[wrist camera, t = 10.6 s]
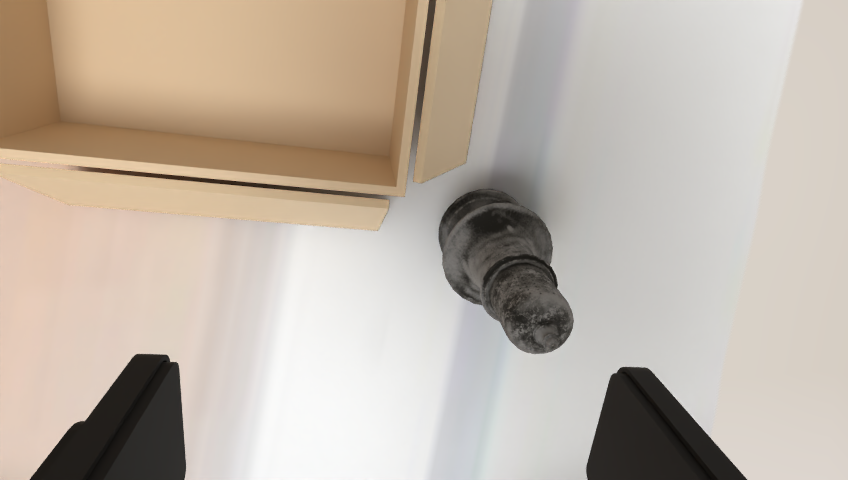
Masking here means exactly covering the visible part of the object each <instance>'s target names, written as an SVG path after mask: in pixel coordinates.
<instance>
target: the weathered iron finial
mask: <svg viewBox="0 0 848 480" xmlns="http://www.w3.org/2000/svg"><path fill="white" fill-rule="evenodd" d="M439 243H440V246H441V250H442V252H443V263H442V265H443V269H444V272H445V276H446V279H447V280H448V282H449V284H450V285H451V287H452V289H453V290H454V291H455V292H457V293H458V294H459V295H460V296H461V297H462V298H464V299H466V300H468V301H470V302H472V303H474V304H479V305H483V307H484V308H485V310H486V312H487V313H488V314H489V315H490V316H491V317H492V318H494V319H495V320H497V321H499V322H500V323H501V325H502V327H503V329H504V331H505V333H506V335H507V336H508V338H509V340H510V341H511V342H512V343H513V344H514V345H515V346H516V347H517V348H518V349H520V350H522V351H524V352H527V353H532V354H541V353H548V352H551V351H553V350H555V349H557V348H559V347H560V346H561V345H562V344H564V342H565V341H566V340H567V338H568V337H569V335H570V333H571V331H572V328H573V322H574V320H573V314H572V310H571V308H570V306H569V304H568V302H567V301H566V299H565V298H564V297H563V296H562V294H561V293H560V292H559V290H558V289H557V286H558V284H557V279H556V275H555V273H554V271H553V269H552V267H551V266H550V263H551V258H552V250H553V247H552V241H551V235H550V233H549V231H548V229H547V227H546V225H545V223H544V222H543V221H542V220H541V219H540V218H539V217H538V216H537V215H536V214H535V213H534V212H532V211H530V210H529V209H527V208H525V207H523V206H520V205H519V204H518V203H517V202H516V201H515V200H514V199H513V198H512V197H510V196H509V195H507V194H505V193H503V192H500V191H496V190H492V189H489V190H477V191H473V192H470V193H467V194H465V195H464V196H462V197H460V198H458V199H457V200H456V201H455V202H454V203H453V204H452V205H451V206H450V207H449V208H448V209H447V211H446V212H445V214H444V216H443V217H442V220H441V223H440V227H439Z"/></svg>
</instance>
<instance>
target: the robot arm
mask: <svg viewBox="0 0 848 480" xmlns="http://www.w3.org/2000/svg"><path fill="white" fill-rule="evenodd" d="M185 472H186V460H185V445H184V431H183V417H182V403H181V388H180V374H179V365H178V363H177V362H170V359H169V357H168V356H167V355H157V354H136V355H135V356H134V357H133V358H132V359H131V361H130V362H129V363H128V365H127V366H126V367H125V369H124V370H123V371H122V373H121V374H120V375H119V377H118V378H117V379H116V381H115V382H114V383H113V385H112V386H111V387H110V389H109V390H108V391H107V393H106V394H105V395H104V397H103V398H102V399H101V401H100V402H99V403H98V405H97V406H96V407H95V409H94V410H93V411H92V413H91V414H90V415H89V417H88V418H87V419H86V421H80V422H77V423H75V424H74V425H73V426H72V427H71V428H70V429H69V430H68V431H67V432H66V433H65V435H64V436H63V437H62V439H61V440H60V441H59V443H58V444H57V445H56V446H55V448H54V449H53V450H52V452H51V453H50V454H49V455H48V457H47V458H46V459H45V461H44V462H43V463H42V464H41V466H40V467H39V468H38V470H37V471H36V472H35V474H34V475H33V476H32V477H31V479H30V480H184V478H185ZM586 472H587V478H588V480H747V479H746V478H745V477H744V476H743V474H742V473H741V472H740V471H739V470H738V469H737V468H736V466H735V465H734V464H733V463H732V462H731V461H730V460H729V459H728V457H727V456H726V455H725V454H724V453H723V452H722V451H721V450H720V448H719V447H718V446H717V445H716V444H715V443H714V442H713V440H712V439H711V438H710V437H709V436H708V435H707V434H706V433H705V431H704V430H703V429H702V428H701V427H700V426H699V425H698V423H697V422H696V421H695V420H694V419H693V418H692V417H691V416H690V414H689V413H688V412H687V411H686V410H685V409H684V408H683V406H682V405H681V404H680V403H679V402H678V401H677V400H676V399H675V397H674V396H673V395H672V394H671V393H670V392H669V391H668V390H667V388H666V387H665V386H664V385H663V384H662V383H661V382H660V380H659V379H658V378H657V377H656V376H655V375H654V374H653V373H652V371H651V370H649V369H648V368H640V367H622V368H620V369H619V370H618V372H617V373H614V374H612V376H611V378H610V380H609V384H608V388H607V392H606V395H605V399H604V403H603V407H602V410H601V414H600V418H599V422H598V425H597V429H596V433H595V437H594V440H593V444H592V448H591V451H590V455H589V459H588V463H587V468H586Z"/></svg>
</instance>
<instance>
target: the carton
mask: <svg viewBox="0 0 848 480" xmlns="http://www.w3.org/2000/svg"><path fill="white" fill-rule="evenodd" d="M492 1H493V0H436V6H435V14H434V22H433V30H432V37H431V45H430V53H429V61H428V68H427V76H426V84H425V92H424V99H423V107H422V115H421V123H420V131H419V138H418V146H417V154H416V162H415V169H414V177H413V182H417V183H424V182H426V181H428V180H430V179H432V178H434V177H437V176H439V175H441V174H443V173H445V172H448V171H450V170H452V169H454V168H456V167H458V166H461V165H463V164H465V163H466V159H467V153H468V147H469V141H470V135H471V129H472V123H473V117H474V111H475V105H476V99H477V93H478V86H479V80H480V74H481V68H482V62H483V56H484V50H485V44H486V38H487V32H488V26H489V20H490V13H491V7H492ZM428 5H429V0H0V159H10V160H21V161H31V162H42V163H52V164H63V165H73V166H84V167H94V168H105V169H115V170H126V171H136V172H147V173H158V174H168V175H179V176H189V177H200V178H210V179H221V180H231V181H242V182H252V183H263V184H273V185H284V186H294V187H305V188H315V189H326V190H336V191H347V192H357V193H368V194H379V195H389V196H400V197H405V190H406V182H407V174H408V166H409V158H410V150H411V142H412V134H413V126H414V118H415V110H416V102H417V94H418V86H419V78H420V69H421V61H422V53H423V45H424V37H425V29H426V21H427V13H428ZM0 177H2V178H4V179H7V180H9V181H12V182H14V183H16V184H19V185H21V186H24V187H26V188H29V189H31V190H33V191H36V192H38V193H41V194H43V195H46V196H48V197H50V198H53V199H55V200H58V201H60V202H62V203H65V204H67V205H75V206H87V207H99V208H110V209H122V210H134V211H146V212H158V213H170V214H182V215H194V216H206V217H218V218H230V219H241V220H253V221H265V222H277V223H289V224H301V225H313V226H325V227H337V228H349V229H361V230H373V231H378V230H379V228H380V226H381V224H382V222H383V220H384V218H385V216H386V213H387V211H388V209H389V200H385V199H375V198H364V197H353V196H343V195H332V194H321V193H311V192H300V191H289V190H279V189H268V188H257V187H246V186H236V185H225V184H214V183H204V182H193V181H182V180H172V179H161V178H150V177H140V176H129V175H118V174H108V173H97V172H86V171H76V170H65V169H54V168H44V167H33V166H22V165H12V164H1V163H0Z"/></svg>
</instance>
